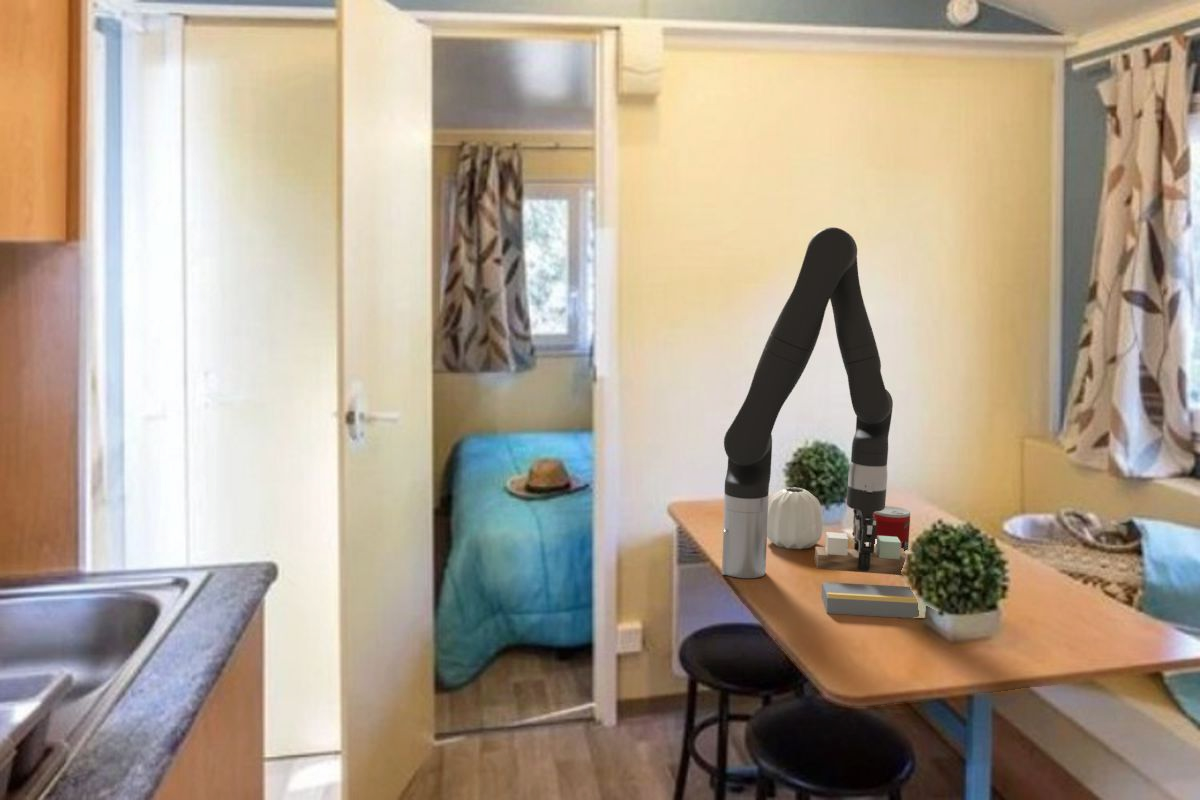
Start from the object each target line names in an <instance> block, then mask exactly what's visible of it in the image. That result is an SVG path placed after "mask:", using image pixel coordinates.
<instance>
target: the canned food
mask: <svg viewBox="0 0 1200 800" xmlns="http://www.w3.org/2000/svg"><path fill="white" fill-rule="evenodd" d="M873 516H874V519H876V527H877V530H876V535H875V539H877V535H878V536H892V537H898V539H899V540H900V542H901V548H903V549H904V551H905V550H907V549H908V550H909V542H910V539H909V538H910V529H911V528H910V525H911V511H910V510H908V509H906V508H903V507H899V506H890V505H888V506H887V505H885V508H884V510H882V511H876V512H874V513H873Z"/></svg>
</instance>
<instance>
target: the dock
mask: <svg viewBox="0 0 1200 800" xmlns="http://www.w3.org/2000/svg"><path fill="white" fill-rule="evenodd" d="M821 584H822V585H821V599H822V602H823V605H824V609H825V611H826V614H831V615H833V614H834V615H835V614H836V615H849V616H850V615H851V616H865V617H885V618H898V617H900V618H899V619H912V618H911V617H918V616H919V610H918V602H917V599H916V597H915V596H914V594H913V592H912V591H911V589H910V587H911V586H903V585H902V586H900V585H899V586H898V585H884V584H883V585H880V584H865V583H848V582H845V583H844V582H830V581H828V582H827V581H821ZM901 617H902V618H901ZM906 617H907V618H906ZM908 617H910V618H908Z"/></svg>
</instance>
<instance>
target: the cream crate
mask: <svg viewBox="0 0 1200 800" xmlns="http://www.w3.org/2000/svg"><path fill="white" fill-rule="evenodd" d="M849 541H850V540H849V537H848V535H847V533H845V532H834V531H833V532H831V531H826V533H825V541H824V542H825V546H824V547H825V550H826V553H827V554H831V555H845V556H847V553H848V549H849Z"/></svg>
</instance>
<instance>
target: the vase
mask: <svg viewBox="0 0 1200 800" xmlns="http://www.w3.org/2000/svg"><path fill="white" fill-rule="evenodd" d="M823 530H824V517H823V511H822V506H821V502H820V501H819V499H818V498H817V497H816V496H814V495H813V494H812V493H811V492H810V491H808V490H806V489H805V488H801V487H793V486H792V487H786V488H782V489H780V490H778V491H777V492H775V493H774V494H773V495H772V496H771V497H769V498H768V521H767V539H768V540H769V542H770V543H771V544H774V545H775V546H777V547H779V548H785V549H789V550H791V549H795V550H801V549H811V548H812V547H813V546H815V545H817V543H819V541H820V540H821V539H822V535H823Z"/></svg>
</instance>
